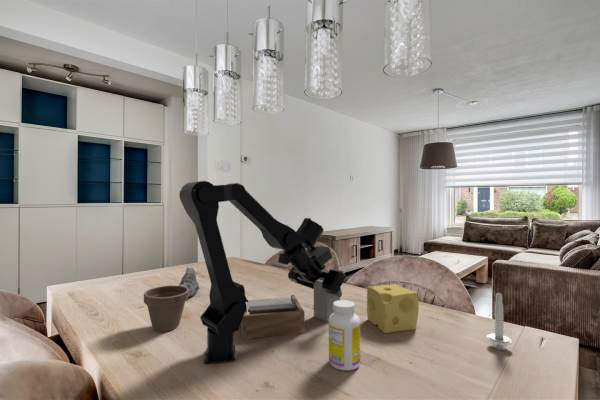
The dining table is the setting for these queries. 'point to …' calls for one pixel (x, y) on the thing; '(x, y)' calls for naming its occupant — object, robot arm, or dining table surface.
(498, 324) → the screw
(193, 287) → the mineral rock
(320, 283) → the grey rectangular block
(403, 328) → the cheese
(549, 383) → the dining table surface
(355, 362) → the supplement bottle
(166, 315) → the flower pot
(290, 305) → the trapdoor
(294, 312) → the trap frame
